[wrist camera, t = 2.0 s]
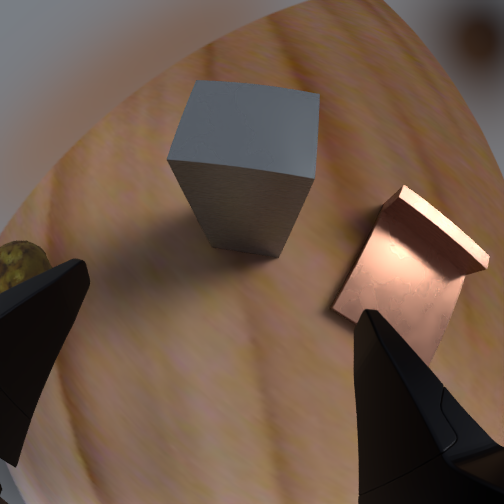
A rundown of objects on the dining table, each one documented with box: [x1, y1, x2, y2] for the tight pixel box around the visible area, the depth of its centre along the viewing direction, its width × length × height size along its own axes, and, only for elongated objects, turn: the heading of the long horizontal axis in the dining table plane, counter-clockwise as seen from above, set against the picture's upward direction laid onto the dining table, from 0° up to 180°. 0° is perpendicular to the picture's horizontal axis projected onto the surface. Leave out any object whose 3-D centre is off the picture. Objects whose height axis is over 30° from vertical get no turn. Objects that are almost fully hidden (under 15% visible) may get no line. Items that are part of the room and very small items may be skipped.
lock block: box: [167, 80, 320, 258], centre depth 16 cm, size 4×5×12 cm
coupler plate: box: [330, 185, 490, 366], centre depth 19 cm, size 10×10×4 cm
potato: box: [0, 241, 52, 293], centre depth 16 cm, size 8×13×8 cm, turn 97°
